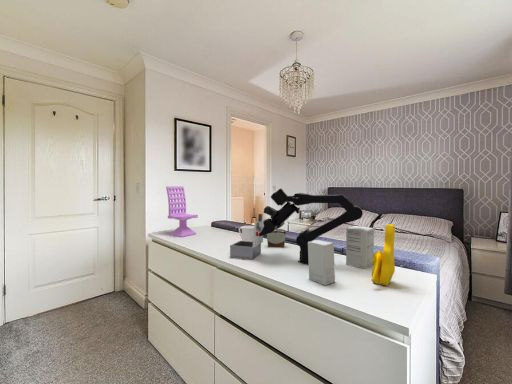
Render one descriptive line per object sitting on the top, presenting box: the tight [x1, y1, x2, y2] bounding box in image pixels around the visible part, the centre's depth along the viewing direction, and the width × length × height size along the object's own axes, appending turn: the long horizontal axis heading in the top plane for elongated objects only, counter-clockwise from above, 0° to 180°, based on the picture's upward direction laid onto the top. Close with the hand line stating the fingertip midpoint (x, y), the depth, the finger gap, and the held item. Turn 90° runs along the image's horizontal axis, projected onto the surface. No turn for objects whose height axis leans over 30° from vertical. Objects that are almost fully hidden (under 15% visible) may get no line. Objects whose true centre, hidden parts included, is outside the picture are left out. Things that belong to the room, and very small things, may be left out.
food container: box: [266, 228, 288, 249], centre depth 149 cm, size 12×6×10 cm, turn 84°
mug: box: [238, 225, 254, 242], centre depth 156 cm, size 11×9×10 cm
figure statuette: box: [371, 223, 396, 287], centre depth 93 cm, size 18×8×22 cm, turn 145°
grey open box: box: [229, 240, 262, 261], centre depth 129 cm, size 12×12×6 cm
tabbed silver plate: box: [253, 213, 266, 247], centre depth 126 cm, size 15×12×2 cm
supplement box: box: [345, 225, 375, 270], centre depth 115 cm, size 10×9×17 cm
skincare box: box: [308, 239, 336, 286], centre depth 96 cm, size 8×6×15 cm
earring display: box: [165, 185, 199, 238], centre depth 183 cm, size 15×17×35 cm
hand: (263, 233), depth 126 cm, fingers open, 9 cm apart
